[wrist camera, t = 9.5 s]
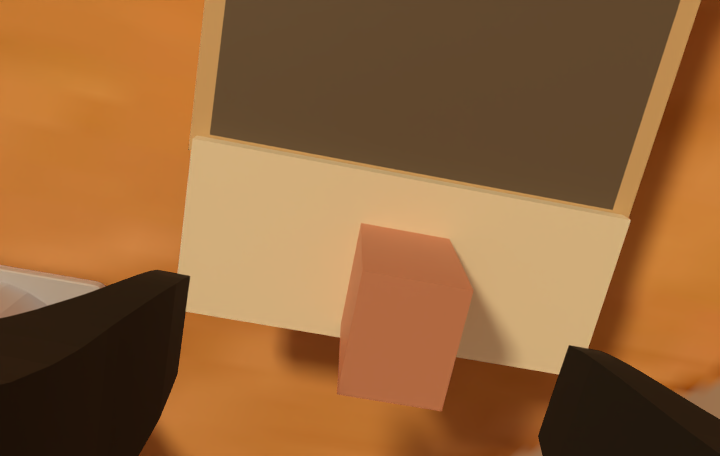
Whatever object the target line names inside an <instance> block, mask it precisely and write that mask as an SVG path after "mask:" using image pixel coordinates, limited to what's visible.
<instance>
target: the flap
mask: <svg viewBox="0 0 720 456" xmlns="http://www.w3.org/2000/svg"><path fill="white" fill-rule="evenodd" d="M630 222H631V220H630V219H628V218H627V217H625V216H624V215H621V214H615V213H610V212H605V211H599V210H594V209H589V208H583V207H578V206H573V205H567V204H562V203H557V202H551V201H546V200H540V199H535V198H530V197H524V196H519V195H514V194H508V193H503V192H498V191H492V190H487V189H482V188H476V187H471V186H466V185H460V184H455V183H449V182H444V181H439V180H433V179H428V178H423V177H417V176H412V175H407V174H401V173H396V172H391V171H385V170H380V169H375V168H369V167H364V166H358V165H353V164H348V163H342V162H337V161H332V160H326V159H321V158H316V157H310V156H305V155H300V154H294V153H289V152H284V151H278V150H273V149H267V148H262V147H257V146H251V145H246V144H241V143H235V142H230V141H225V140H219V139H214V138H209V137H203V136H198V135H197V136H196V137H194V138H193V139H192V148H191V157H190V166H189V175H188V184H187V193H186V202H185V211H184V220H183V229H182V238H181V247H180V256H179V265H178V274H183V275H188V276H190V282H189V290H188V297H187V305H186V312H191V313H197V314H203V315H209V316H215V317H221V318H227V319H233V320H239V321H245V322H251V323H257V324H262V325H268V326H274V327H280V328H286V329H292V330H298V331H304V332H310V333H316V334H322V335H328V336H334V337H340V348H339V368H338V387H337V394H339V395H345V396H351V397H357V398H363V399H369V400H375V401H382V402H388V403H394V404H400V405H406V406H412V407H418V408H425V409H431V410H437V411H442V408H443V404H444V401H445V397H446V393H447V389H448V386H449V382H450V378H451V374H452V370H453V367H454V363H455V359H456V357H458V358H464V359H470V360H476V361H482V362H488V363H494V364H500V365H506V366H511V367H517V368H523V369H529V370H535V371H541V372H547V373H553V374H559V373H560V370H561V367H562V364H563V361H564V358H565V355H566V352H567V349H568V346H569V345H571V346H577V347H582V348H587V349H588V347H589V344H590V341H591V338H592V335H593V332H594V329H595V326H596V323H597V320H598V317H599V314H600V311H601V308H602V305H603V302H604V299H605V296H606V293H607V290H608V287H609V284H610V281H611V278H612V275H613V272H614V269H615V266H616V263H617V260H618V257H619V254H620V251H621V248H622V245H623V242H624V239H625V236H626V233H627V230H628V227H629V225H630Z"/></svg>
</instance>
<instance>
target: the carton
mask: <svg viewBox="0 0 720 456" xmlns="http://www.w3.org/2000/svg"><path fill="white" fill-rule="evenodd" d="M700 2H701V0H205V4H204V13H203V22H202V31H201V40H200V49H199V58H198V67H197V77H196V86H195V95H194V104H193V113H192V122H191V131H190V140H189V149H188V150H191V148H192V139H193V138H194V137H196V136H197V135H198V136H203V137H209V138H214V139H219V140H225V141H230V142H235V143H241V144H246V145H251V146H257V147H262V148H267V149H273V150H278V151H284V152H289V153H294V154H300V155H305V156H310V157H316V158H321V159H326V160H332V161H337V162H342V163H348V164H353V165H358V166H364V167H369V168H375V169H380V170H385V171H391V172H396V173H401V174H407V175H412V176H417V177H423V178H428V179H433V180H439V181H444V182H449V183H455V184H460V185H466V186H471V187H476V188H482V189H487V190H492V191H498V192H503V193H508V194H514V195H519V196H524V197H530V198H535V199H540V200H546V201H551V202H557V203H562V204H567V205H573V206H578V207H583V208H589V209H594V210H599V211H605V212H610V213H615V214H621V215H624V216H625V217H627V218H629V215H630V212H631V209H632V206H633V203H634V200H635V197H636V194H637V191H638V188H639V185H640V182H641V179H642V176H643V173H644V170H645V167H646V164H647V161H648V158H649V155H650V152H651V149H652V146H653V143H654V140H655V137H656V134H657V131H658V128H659V125H660V122H661V119H662V116H663V113H664V110H665V107H666V104H667V101H668V98H669V95H670V92H671V89H672V86H673V83H674V80H675V77H676V74H677V71H678V68H679V65H680V62H681V59H682V56H683V53H684V50H685V47H686V44H687V41H688V38H689V35H690V32H691V29H692V26H693V23H694V20H695V17H696V14H697V11H698V8H699V5H700Z"/></svg>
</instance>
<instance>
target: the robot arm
mask: <svg viewBox="0 0 720 456" xmlns="http://www.w3.org/2000/svg"><path fill="white" fill-rule="evenodd" d="M189 282H190V276H188V275H183V274H177V273H172V272H166V271H161V270H153V271H149V272H145V273H142V274H139V275H136V276H133V277H130V278H128V279H125V280H122V281H120V282H117V283H114V284H111V285H109V286H105V285H104V284H103V283H100V282H97V281H92V280H86V279H80V278H74V277H68V276H62V275H56V274H51V273H45V272H39V271H33V270H27V269H21V268H15V267H9V266H4V265H0V456H138V455H139V454H140V452H141V450H142V448H143V447H144V445H145V443H146V441H147V440H148V438H149V436H150V434H151V433H152V431H153V429H154V427H155V426H156V424H157V422H158V420H159V418H160V416H161V414H162V411H163V409H164V406H165V404H166V402H167V399H168V397H169V394H170V392H171V389H172V387H173V384H174V381H175V379H176V376H177V373H178V366H179V358H180V350H181V343H182V335H183V328H184V320H185V312H186V305H187V297H188V290H189ZM538 437H539V442H540V446H541V451H542V455H543V456H720V419H718V418H716V417H715V416H713V415H711V414H710V413H708V412H706V411H705V410H703V409H701V408H699V407H698V406H696V405H695V404H693V403H691V402H690V401H688V400H686V399H685V398H683V397H682V396H680V395H678V394H677V393H675V392H673V391H672V390H670V389H669V388H667V387H665V386H664V385H662V384H660V383H659V382H657V381H655V380H654V379H652V378H650V377H649V376H647V375H646V374H644V373H642V372H641V371H639V370H637V369H635V368H634V367H632V366H630V365H628V364H627V363H625V362H623V361H621V360H619V359H617V358H615V357H613V356H611V355H609V354H607V353H604V352H602V351H598V350H593V349H587V348H582V347H577V346H571V345H569V346H568V349H567V352H566V355H565V358H564V361H563V364H562V367H561V370H560V373H559V376H558V379H557V382H556V385H555V388H554V391H553V394H552V396H551V399H550V402H549V405H548V408H547V411H546V414H545V417H544V420H543V423H542V426H541V429H540V432H539V435H538Z"/></svg>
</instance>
